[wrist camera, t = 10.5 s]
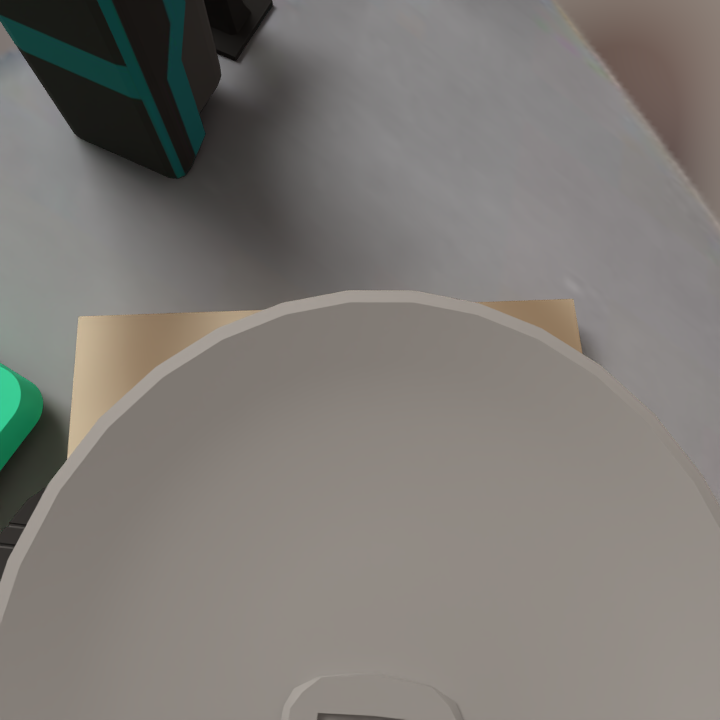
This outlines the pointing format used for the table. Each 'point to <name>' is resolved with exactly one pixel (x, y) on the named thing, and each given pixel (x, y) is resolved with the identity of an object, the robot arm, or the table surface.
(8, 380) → the camera mount
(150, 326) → the wooden square board
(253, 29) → the surveillance camera
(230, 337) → the canned food
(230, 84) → the table surface
